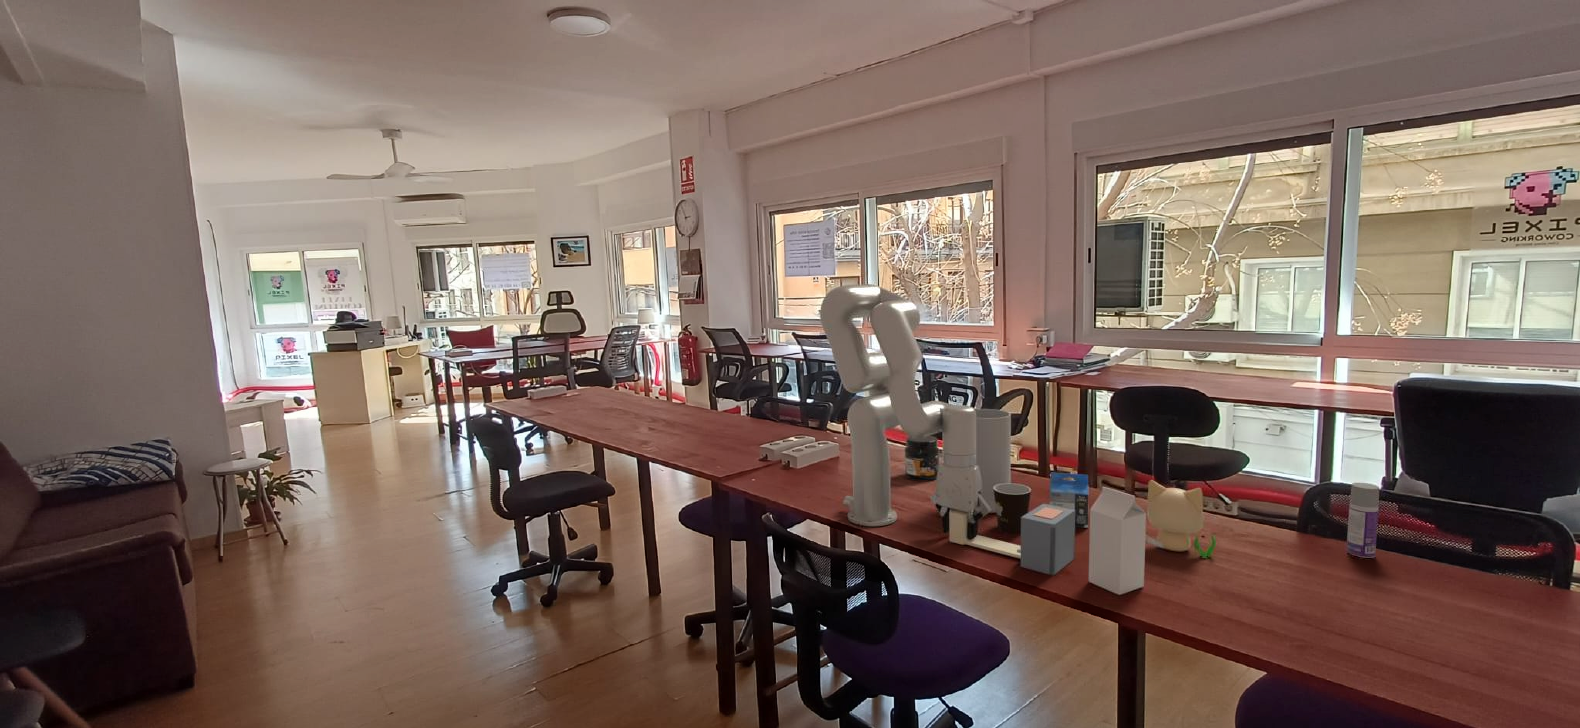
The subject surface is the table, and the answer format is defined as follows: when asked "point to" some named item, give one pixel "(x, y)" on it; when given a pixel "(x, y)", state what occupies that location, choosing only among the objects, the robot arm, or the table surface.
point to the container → (1363, 520)
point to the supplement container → (921, 458)
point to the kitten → (1176, 517)
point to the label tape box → (1071, 495)
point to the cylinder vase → (993, 451)
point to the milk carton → (1117, 542)
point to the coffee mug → (1011, 506)
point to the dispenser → (1047, 539)
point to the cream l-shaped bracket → (959, 535)
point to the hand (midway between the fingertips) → (959, 534)
